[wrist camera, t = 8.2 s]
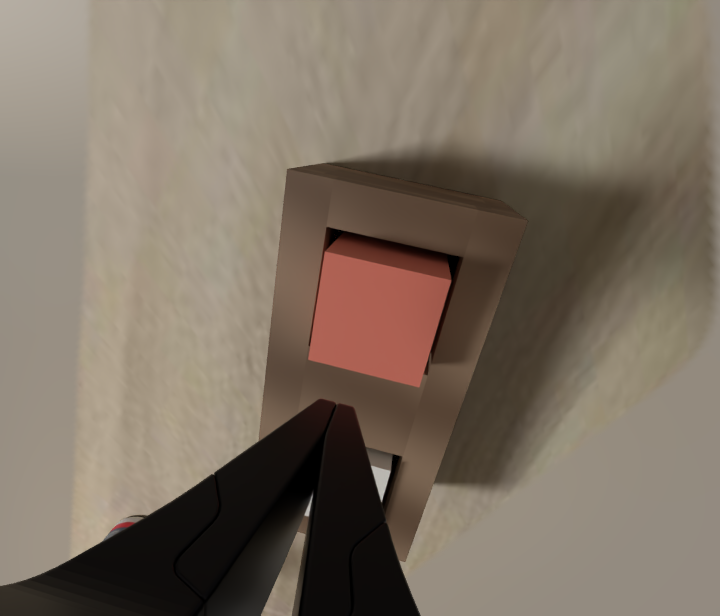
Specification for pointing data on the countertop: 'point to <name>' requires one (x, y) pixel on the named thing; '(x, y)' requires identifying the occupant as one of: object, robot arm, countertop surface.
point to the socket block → (453, 338)
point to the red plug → (379, 307)
